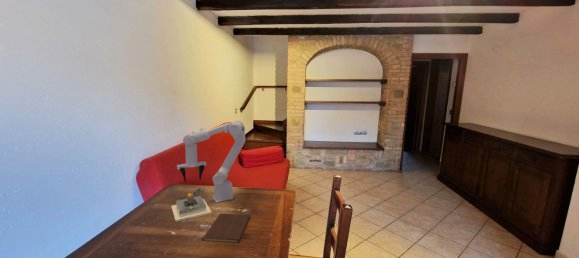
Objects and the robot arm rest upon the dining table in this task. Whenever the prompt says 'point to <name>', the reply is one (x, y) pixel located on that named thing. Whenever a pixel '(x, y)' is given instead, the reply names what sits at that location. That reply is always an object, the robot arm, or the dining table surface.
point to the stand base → (178, 218)
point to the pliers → (193, 193)
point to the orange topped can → (190, 198)
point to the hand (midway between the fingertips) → (192, 180)
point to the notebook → (227, 228)
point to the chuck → (190, 206)
